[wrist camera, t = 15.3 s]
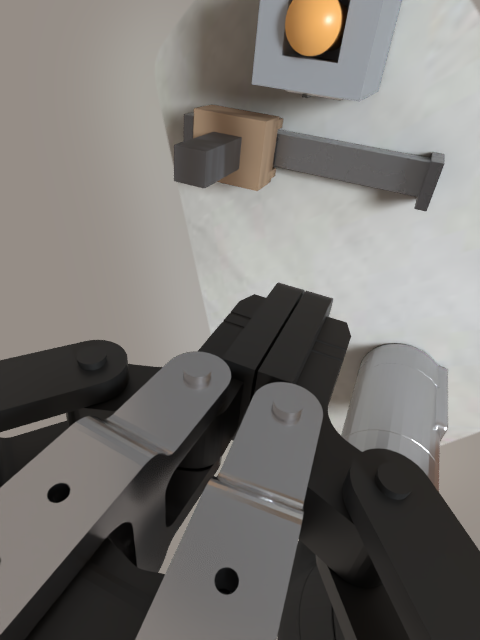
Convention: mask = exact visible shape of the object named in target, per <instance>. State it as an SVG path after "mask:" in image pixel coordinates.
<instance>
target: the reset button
mask: <svg viewBox="0 0 480 640" xmlns="http://www.w3.org/2000/svg"><path fill="white" fill-rule="evenodd" d="M347 15H348V9H347V7H346V6H345V5H344V4H342V3H340V2H339V1H338V0H293V1H292V2H291V4H290V6H289V8H288V11H287V14H286V19H285V31H286V36H287V39H288V41H289V43H290V45H291V47H292V48H293V49H294V50H295V51H296V52H298V53H299V54H302V55H305V56H316V55H320V54H322V53H324V52H326V51H332V50H335V49H337V48H339V47H340V46H341V44H342V39H343V34H344V29H345V24H346V20H347Z"/></svg>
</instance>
